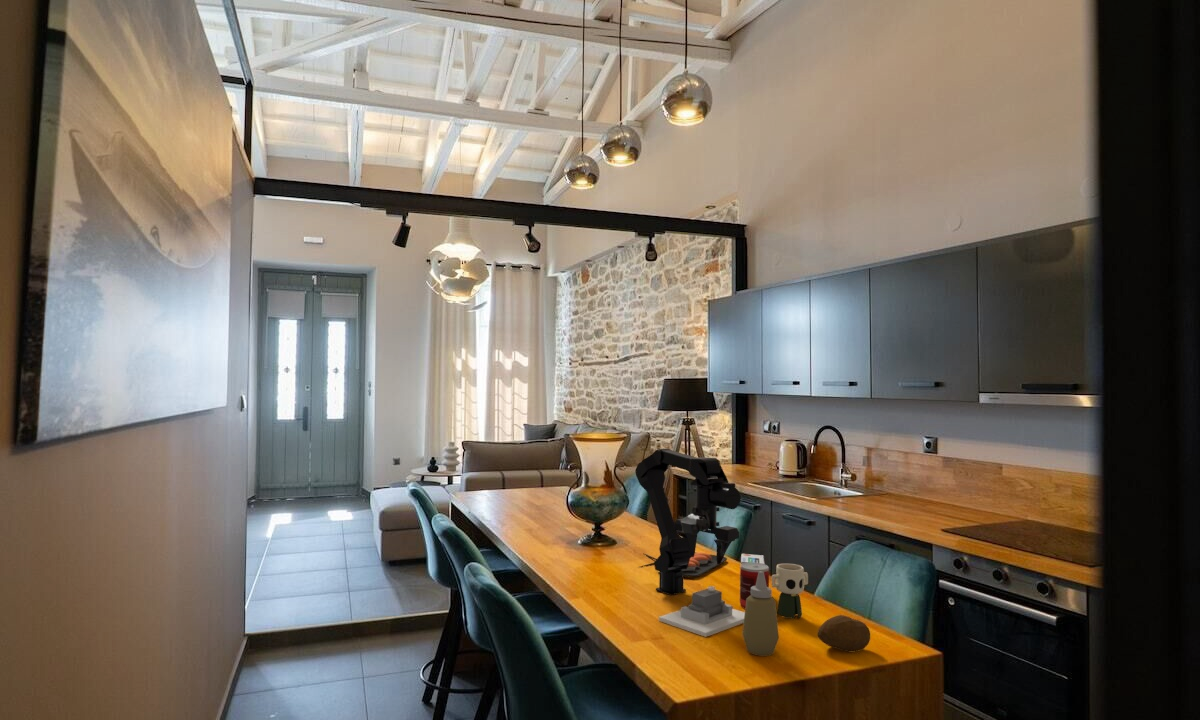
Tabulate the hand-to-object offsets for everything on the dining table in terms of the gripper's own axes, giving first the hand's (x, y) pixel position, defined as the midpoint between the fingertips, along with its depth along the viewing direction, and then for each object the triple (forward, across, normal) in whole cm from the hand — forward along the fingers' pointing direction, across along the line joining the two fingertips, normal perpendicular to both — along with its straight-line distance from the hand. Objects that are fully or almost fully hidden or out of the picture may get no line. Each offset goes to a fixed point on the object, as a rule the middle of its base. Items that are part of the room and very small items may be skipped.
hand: (705, 560), depth 196 cm
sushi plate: (+13, -35, +27) cm, 46 cm away
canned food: (+12, +10, +9) cm, 18 cm away
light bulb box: (+12, +4, +17) cm, 21 cm away
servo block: (+11, +8, -10) cm, 17 cm away
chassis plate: (+12, +8, -10) cm, 18 cm away
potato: (+12, +42, -2) cm, 44 cm away
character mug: (+12, +21, +9) cm, 26 cm away
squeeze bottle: (+12, +30, -18) cm, 37 cm away
